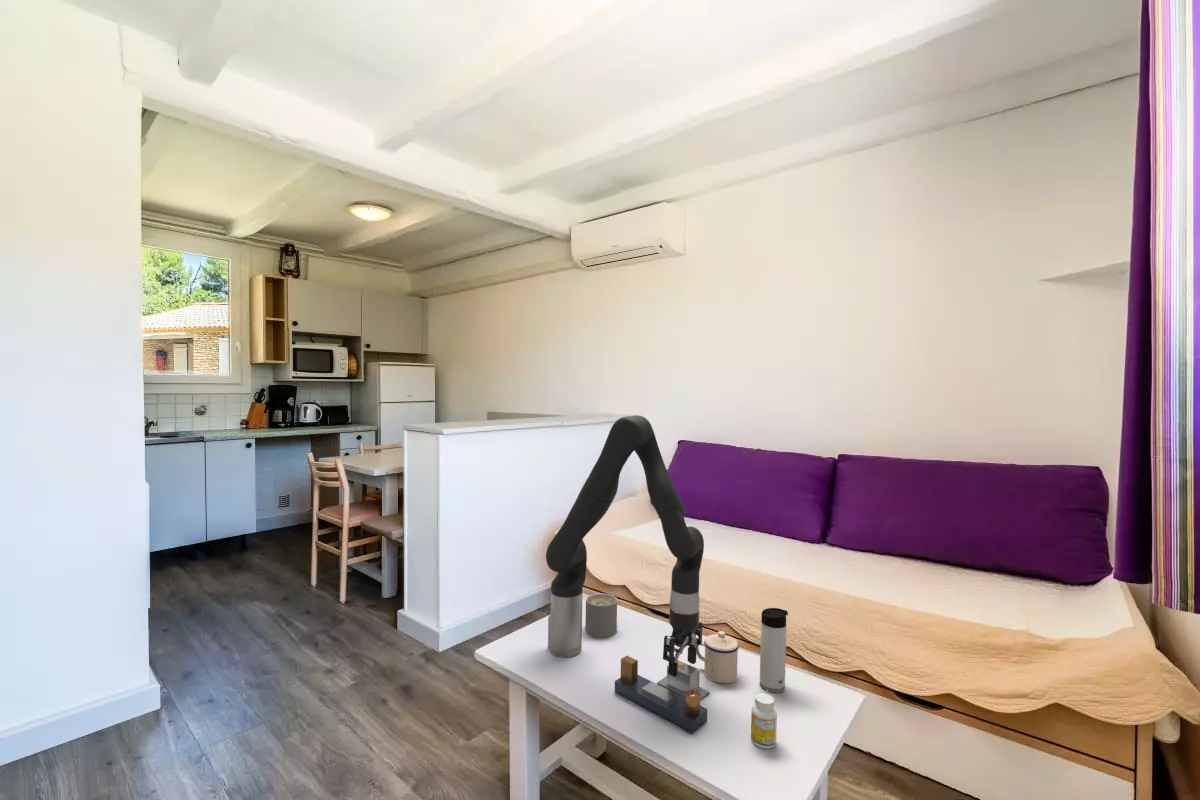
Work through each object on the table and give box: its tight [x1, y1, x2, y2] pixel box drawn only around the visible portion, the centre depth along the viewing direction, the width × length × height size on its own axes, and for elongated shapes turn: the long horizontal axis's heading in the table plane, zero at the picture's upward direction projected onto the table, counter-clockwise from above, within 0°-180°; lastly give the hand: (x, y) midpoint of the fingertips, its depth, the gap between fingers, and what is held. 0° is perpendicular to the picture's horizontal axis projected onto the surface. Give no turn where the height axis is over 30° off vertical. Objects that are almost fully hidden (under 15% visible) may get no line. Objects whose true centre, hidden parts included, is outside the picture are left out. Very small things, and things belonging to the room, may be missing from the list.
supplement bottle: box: [750, 692, 778, 750], centre depth 116 cm, size 5×5×10 cm
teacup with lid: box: [696, 630, 740, 684], centre depth 143 cm, size 12×9×12 cm
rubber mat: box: [656, 675, 710, 702], centre depth 135 cm, size 12×6×1 cm, turn 47°
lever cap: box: [666, 659, 701, 694], centre depth 135 cm, size 7×4×6 cm, turn 47°
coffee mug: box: [584, 592, 618, 639], centre depth 168 cm, size 13×10×10 cm
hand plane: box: [614, 655, 708, 735], centre depth 128 cm, size 23×6×8 cm, turn 47°
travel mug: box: [759, 607, 789, 693], centre depth 137 cm, size 6×7×20 cm
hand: (682, 668), depth 135 cm, fingers open, 8 cm apart
